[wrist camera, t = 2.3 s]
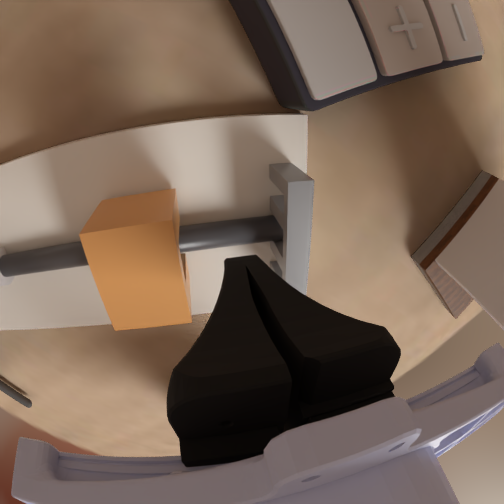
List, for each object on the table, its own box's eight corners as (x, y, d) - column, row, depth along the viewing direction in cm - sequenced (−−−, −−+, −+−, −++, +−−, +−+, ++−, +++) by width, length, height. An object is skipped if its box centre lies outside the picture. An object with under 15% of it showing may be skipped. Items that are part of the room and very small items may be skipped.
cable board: (295, 289, 21) (315, 330, 18) (-3, 322, 17) (-21, 358, 14) (300, 113, 15) (335, 122, 11) (-59, 190, 11) (-93, 215, 8)
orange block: (189, 276, 17) (191, 322, 14) (124, 284, 17) (115, 330, 13) (175, 188, 14) (172, 220, 11) (101, 200, 14) (79, 234, 11)
